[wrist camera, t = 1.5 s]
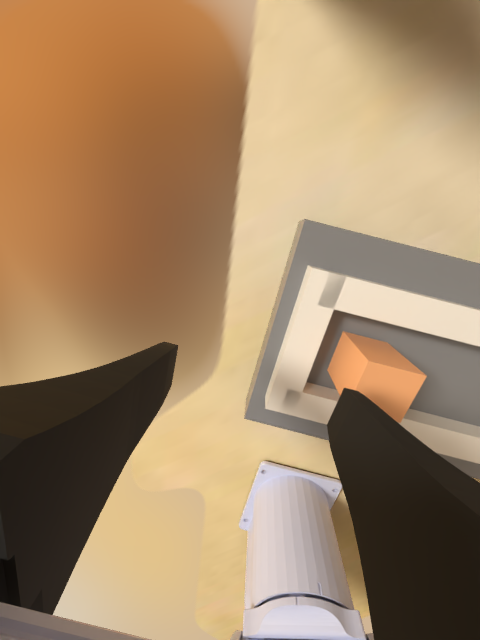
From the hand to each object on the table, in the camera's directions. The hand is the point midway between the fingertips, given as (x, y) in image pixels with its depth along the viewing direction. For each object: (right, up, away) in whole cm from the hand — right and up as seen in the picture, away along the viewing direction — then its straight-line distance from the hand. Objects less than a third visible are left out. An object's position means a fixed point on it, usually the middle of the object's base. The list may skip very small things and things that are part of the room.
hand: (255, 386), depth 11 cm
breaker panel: (+13, 0, +9) cm, 16 cm away
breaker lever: (+7, 0, +6) cm, 10 cm away
